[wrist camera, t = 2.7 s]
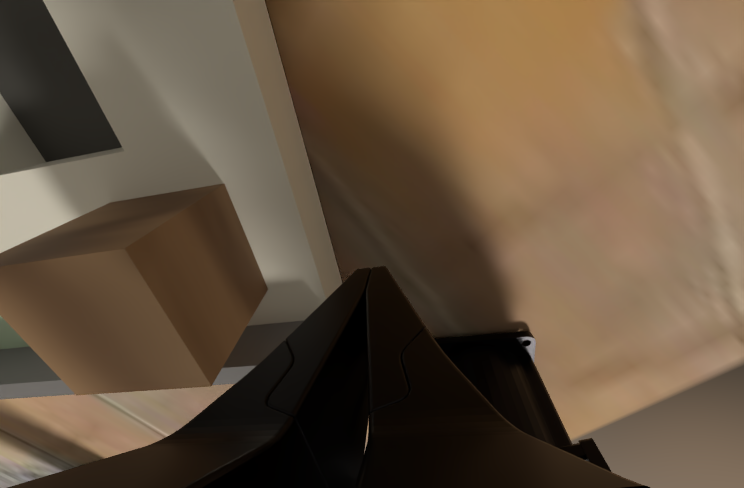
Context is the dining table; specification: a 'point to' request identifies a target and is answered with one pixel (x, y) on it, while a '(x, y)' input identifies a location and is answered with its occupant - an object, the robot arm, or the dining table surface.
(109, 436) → the dining table surface
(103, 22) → the trap box
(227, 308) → the walnut block
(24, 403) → the dining table surface
